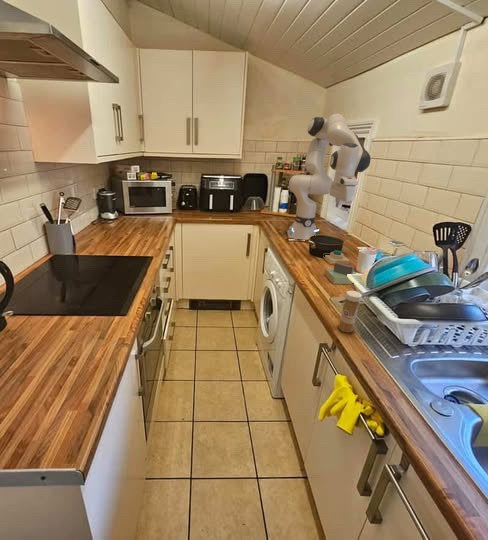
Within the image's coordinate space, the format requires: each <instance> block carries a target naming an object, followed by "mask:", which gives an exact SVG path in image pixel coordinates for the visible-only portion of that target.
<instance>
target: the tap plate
mask: <svg viewBox="0 0 488 540" xmlns="http://www.w3.org/2000/svg"><path fill="white" fill-rule="evenodd" d="M353 274H357V272H355V271H353ZM324 276H325V277H326V278H327V279H328V281H330V282H331V283H332V284H333V285H353V284H352V283H351V282H350V281H349V279H348V277H347V275H345V274H341V273H338V272H335V271H334V268H325V271H324Z"/></svg>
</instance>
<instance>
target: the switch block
mask: <svg viewBox="0 0 488 540" xmlns="http://www.w3.org/2000/svg"><path fill="white" fill-rule="evenodd" d="M333 253H334V251H331V252H330V253H329V254H330V255H325V257H324V256H322V258H323V259H324V260H325V261H326V262H327V263H328V264H329V265H335V263H336V262H338V263H342V264H346V265H350V263H351V260H350V259H349V258H348V257H346V256H345V254H344V253H343V252H341V255H335V254H333Z"/></svg>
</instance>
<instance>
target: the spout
mask: <svg viewBox="0 0 488 540" xmlns="http://www.w3.org/2000/svg"><path fill="white" fill-rule="evenodd" d="M333 269H334V271H335V272H338V273H341V274H345V275H347V274H353V272H355V266H354V265H350V264H342V263H338V262H336V263H335V264H334V267H333Z"/></svg>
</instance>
